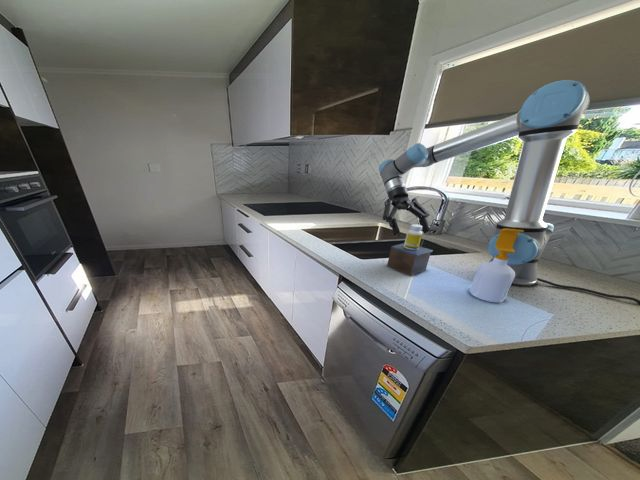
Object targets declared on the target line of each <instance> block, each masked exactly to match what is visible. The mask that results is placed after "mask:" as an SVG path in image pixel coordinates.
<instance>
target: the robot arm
mask: <svg viewBox="0 0 640 480" xmlns="http://www.w3.org/2000/svg"><path fill="white" fill-rule="evenodd" d="M590 102H591V95H590V93H589V91H588V89H587V87H586V85H585V84H583V83H582V82H581V81H578V80H574V79H561V80H556V81H553V82H550V83H548V84H545V85H543V86H541V87H540V88H538V89H537V90H535V91H534V92H533V93H531V94H530V95H529V96H528V97H527V98H526V99H525V101H524V102H523V104H522V106H521V108H520V110H519V111H518V112H517V113H515V114H513V115H510V116H507V117H505V118H502V119H500V120H497V121H494V122H491V123H489V124H486V125H484V126H481V127H479V128H476V129H473V130H470V131H468V132H466V133H462V134H461V135H458V136H455V137H452V138H450V139H447V140H444V141H442V142H439V143H437V144H434V145H432V146H428V147H426V146H425V145H424V144H422V143H420V142H418V143H415V144H413V145H412V146H410V147H409V148H408V149H406V150H405V151H404V152H403V153H401V154H400V155H399V156H398V157H397V158H395V159H393V158H389V159H387V160H385V161H383V162H381V164H380V165H379V166H378V172H379V175H380V177H381V180H382V183H383V185H384V188H385V189H384V190H385V191H386V195H387V199H386V200H385V201H384V209H383V215H382V220H383V221H385V222H386V223H388V225H389V227H390V228H391V229H392V232H393V236H397V235H398V234H399V233H401V231H400V228H399V224H398V222H397V220H396V218H394V217H395V215H396V213H397V211H401V210H403V211H406V212H409V213H411V214H412V215H414V216H415V217H416V218H418V219H419V220H418V223H419V225H421V226H422V230H421V231H422V233H423V235H425V234H427V233H429V232H430V231H431V229H430V226H429V221H428V217H430V216H431V214H430V213H429V212H428V211H427V209H426V208H424V207H423V205H422V204H421V203H420V202H419V201H418V199H417V198H416V197H414V198H411V199H410V198H409V192H408V189H407V186H406V184H405V181H404V179H403V175H404V174H406V173H408V172H409V171H411V170H412V169H414V168H427V167H430V166H433V165H434V164H437V163H439V162H442V161H446V160H449V159H453V158H455V157H457V156H462V155H464V154H468V153H470V152H474V151H476V150H479V149H483V148H485V147H488V146H493V145H496V144H498V143H502V142H504V141H508V140H511V139H514V138H516V137H517V139H518V140H519V141H520V142H522V146H521V151H520V155H519V158H518V163H517V167H516V171H515V175H514V178H513V181H512V182H513V183H512V187H511V191H510V195H509V199H508V203H507V207H506V211H505V215H504V218H503V219H501V220H499V221H497V223H496V227H495V231H494V235H493V237H492V238H491V239H490V241H489V242H488V246H487V247H488V249H487V250H488V252H489V254H490V256H491V258H490V260H489V261H488V262H492V261H493V259H494V257H495V255H499V254H500V252H498V250H497V248H496V247H495V245H496V242H497V239H498V237H499V234H500V232H501V230H502V229H505V228H508V229H518V230H524V232H519V233H518V235H517V237H516V240H515V242H514V244H513V249H514V250H515V253H512V252H510V254H507V255H506V257H508V258H509V259H508V262H507V265H508V266H509V267H511V268H512V269H513V270H514V272H515V277H514V279H513V281H512V284H511V285H514V286H515V285H516V286H523V287H524V286H525V287H529V286H534V285H535V284H536V283H537V282H541V283H545V284H547V285H551V286H553V287H557V288H561V289H570V290H571V289H572V290H577V291H583V292H586V293H591V294H595V295H599V296H603V297H607V298H612V299H622V300H630V301H632V302H635V303H637V304H638V305H640V299H639V298H636V297H634V296H633V297H632V296H627V295H618V294H609V293H604V292H602V291H601V292H600V291H597V290H594V289H588V288H586V287H585V288H584V287H581V286H574V285H565V284H559V283H555V282H552V281H549V280H546V279H543V278H539V277H538V263H539V260H540V258H541V256H542V254H543V253H544V250H545V248H546V247H547V244H548V241H549V240H550V237H551V235H552V234H553V233H554V229H555V225H554V224H552V223H550V222H545V221H544V220H543V218H544V214H545V212H546V209H547V204H548V202H549V199H550V194H551V191H552V188H553V185H554V181H555V179H556V175H557V171H558V167H559V164H560V161H561V158H562V154H563V152H564V148H565V144H566V141H567V139H568V138H569V137H570V136H572V135H574V134H575V133H576V132H577V131H578V128H579V125H580V123H581V119H582V115H583V114H584V113H585V112H586V110H587V109H588V108H589V106H590ZM391 206H393V207H392V209H391Z"/></svg>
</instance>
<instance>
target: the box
mask: <svg viewBox="0 0 640 480" xmlns="http://www.w3.org/2000/svg"><path fill="white" fill-rule="evenodd" d="M431 254H432V252H430V253H426V254H423V255H420V256H414V255H411V254H408V253H405V252H402V251H400V250H397V249H394V248H391V247H390V251H389V255H388V261H387V264H386V267H388V268H390V269H393V270H395V271H398V272H400V273H402V274H404V275H408V276H410V277H411V276H414V275H417V274H419V273H423V272H425V271H427V268H428V265H429V260H430V257H431Z"/></svg>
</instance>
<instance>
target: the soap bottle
mask: <svg viewBox="0 0 640 480" xmlns="http://www.w3.org/2000/svg"><path fill="white" fill-rule="evenodd" d="M519 232H524V230H518V229H508V228H505V229H502V230H501V232H500V234H499V237H498V239H497V242H496V245H495V247H496V248H497V250H498V252H500V254H499V255H495V257H494V259H493V261H492V262H489V261H487V262H482V263H480V265H479V266H477V269H476V272H475V275H474V277H473V279H472V282H471V285H470V288H469V293H470V294H471V295H472V296H473V297H475V298H477V299H480V300H482V301H485V302H490V303H502V302H504V300H505V299H506V297H507V295H508V292H509V290H510V288H511V285H513V284H512V281H513V279H514V277H515V272H514V270H513V269H512V268H511V267H509V266H508V265H507V262H508V259H509V258H508V257H506V255H507V254H510V252H512V253H515V250H514V249H513V244H514V242H515V240H516V237H517V235H518V233H519Z"/></svg>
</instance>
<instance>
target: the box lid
mask: <svg viewBox="0 0 640 480" xmlns="http://www.w3.org/2000/svg"><path fill="white" fill-rule="evenodd" d="M404 243H405V242H403V243H399V244H395V245H391V247H390V249H391V248H394V249H397V250H400V251H402V252H405V253H408V254H411V255H414V256H420V255H423V254H426V253H430V252H431V253H433V252H434V251H433V249H430V248H426V247H423V246H421V245H419V248H418V249H417V250H410V249H406V248H405V247H404Z"/></svg>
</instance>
